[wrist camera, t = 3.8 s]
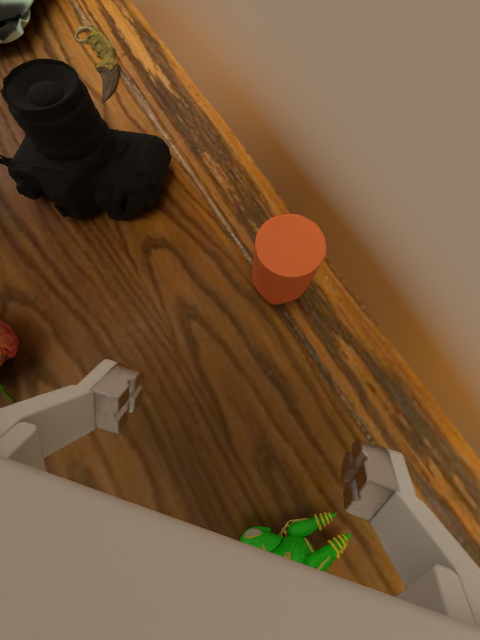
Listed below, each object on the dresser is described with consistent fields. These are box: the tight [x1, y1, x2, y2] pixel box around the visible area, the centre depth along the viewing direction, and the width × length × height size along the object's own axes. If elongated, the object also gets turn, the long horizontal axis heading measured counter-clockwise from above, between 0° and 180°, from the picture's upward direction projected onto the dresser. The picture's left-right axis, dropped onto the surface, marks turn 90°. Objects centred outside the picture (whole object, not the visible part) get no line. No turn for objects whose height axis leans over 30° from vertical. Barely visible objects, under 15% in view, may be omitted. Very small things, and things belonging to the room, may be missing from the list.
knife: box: [75, 26, 120, 103], centre depth 36 cm, size 14×1×5 cm
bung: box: [252, 214, 326, 305], centre depth 24 cm, size 5×5×8 cm
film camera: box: [0, 59, 171, 221], centre depth 26 cm, size 15×10×9 cm
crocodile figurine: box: [239, 512, 351, 572], centre depth 19 cm, size 7×18×4 cm, turn 120°
